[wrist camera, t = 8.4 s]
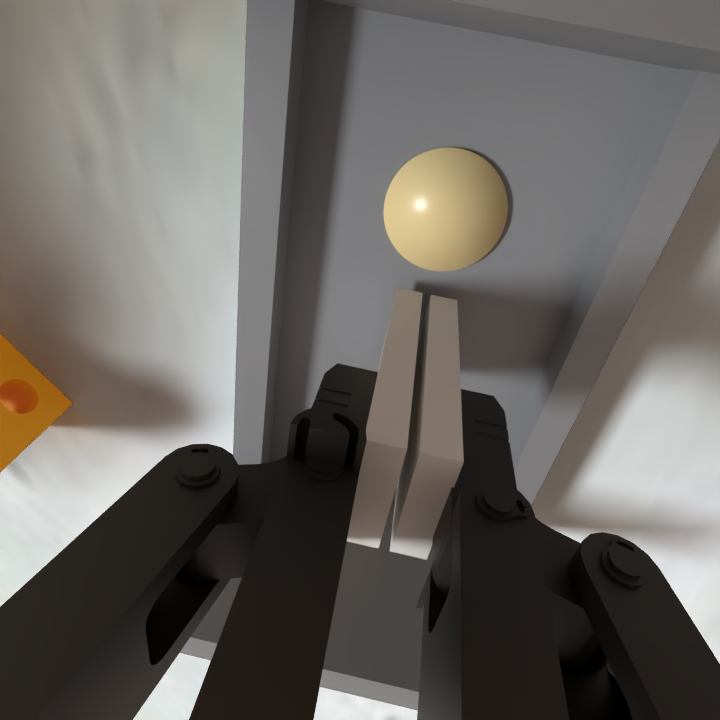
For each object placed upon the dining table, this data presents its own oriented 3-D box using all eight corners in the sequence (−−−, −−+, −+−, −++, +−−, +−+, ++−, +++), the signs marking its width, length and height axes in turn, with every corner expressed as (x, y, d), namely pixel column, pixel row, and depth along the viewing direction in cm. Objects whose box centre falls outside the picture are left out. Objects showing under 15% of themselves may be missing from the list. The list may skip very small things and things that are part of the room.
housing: (241, 464, 21) (151, 646, 14) (264, -62, 12) (44, -197, 5) (503, 523, 20) (529, 737, 14) (743, 28, 11) (1134, -2, 5)
